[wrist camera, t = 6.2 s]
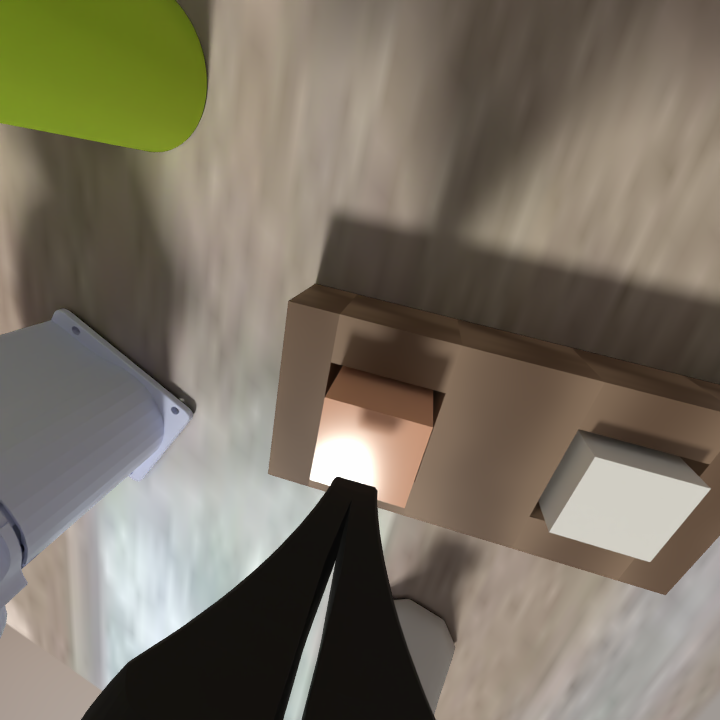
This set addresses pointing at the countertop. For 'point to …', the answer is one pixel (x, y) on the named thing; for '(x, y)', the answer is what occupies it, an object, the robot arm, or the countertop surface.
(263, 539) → the countertop surface
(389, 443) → the salmon pink cube
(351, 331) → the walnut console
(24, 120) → the soap dispenser
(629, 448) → the white cube
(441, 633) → the flask
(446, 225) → the countertop surface
